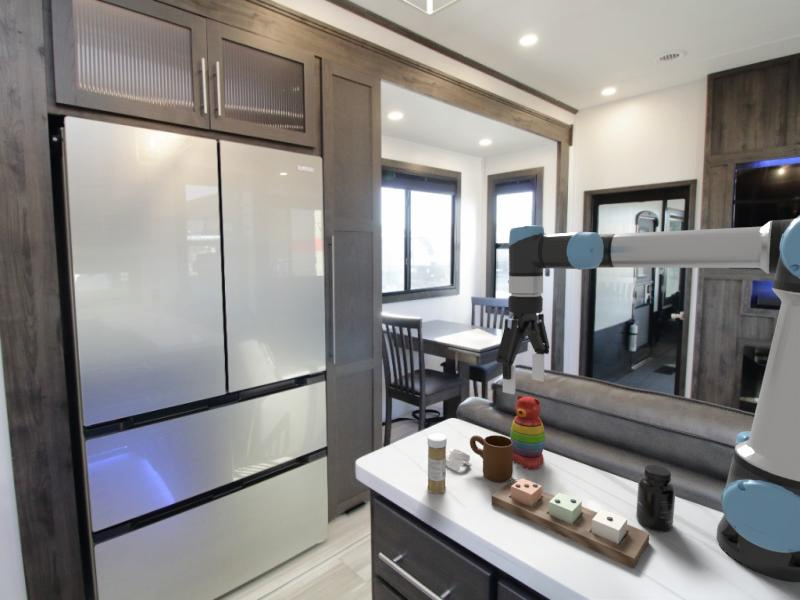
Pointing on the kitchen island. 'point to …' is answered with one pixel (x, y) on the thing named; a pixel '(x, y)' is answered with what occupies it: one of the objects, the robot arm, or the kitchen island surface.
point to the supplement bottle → (656, 499)
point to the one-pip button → (609, 526)
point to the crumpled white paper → (457, 459)
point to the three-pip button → (526, 492)
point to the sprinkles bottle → (436, 463)
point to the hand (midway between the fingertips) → (524, 386)
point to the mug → (495, 456)
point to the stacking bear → (528, 433)
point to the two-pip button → (565, 508)
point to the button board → (575, 527)
